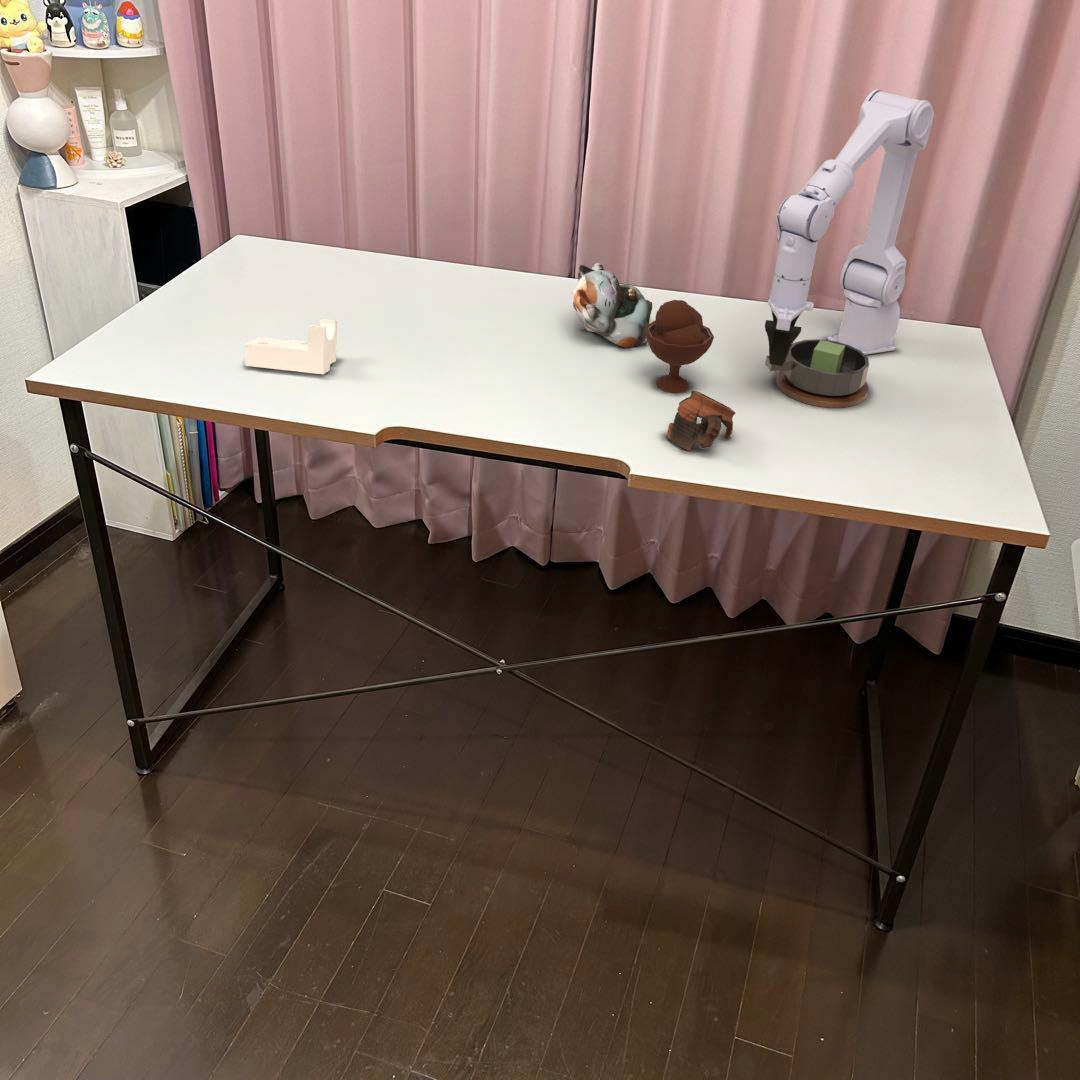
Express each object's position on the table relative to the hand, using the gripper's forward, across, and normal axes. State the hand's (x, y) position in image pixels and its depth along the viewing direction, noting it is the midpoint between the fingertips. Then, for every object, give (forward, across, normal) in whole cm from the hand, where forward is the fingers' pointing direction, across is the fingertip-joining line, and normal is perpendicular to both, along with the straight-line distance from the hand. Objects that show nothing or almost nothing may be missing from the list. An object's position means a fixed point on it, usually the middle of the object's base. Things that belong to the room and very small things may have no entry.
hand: (778, 354), depth 184 cm
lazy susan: (+6, +4, -8) cm, 11 cm away
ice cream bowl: (+7, -4, +16) cm, 18 cm away
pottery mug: (+7, -21, +9) cm, 24 cm away
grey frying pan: (+5, +3, -6) cm, 9 cm away
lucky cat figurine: (+7, +12, +30) cm, 33 cm away
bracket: (+7, -18, +77) cm, 79 cm away
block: (+4, +4, -8) cm, 10 cm away
